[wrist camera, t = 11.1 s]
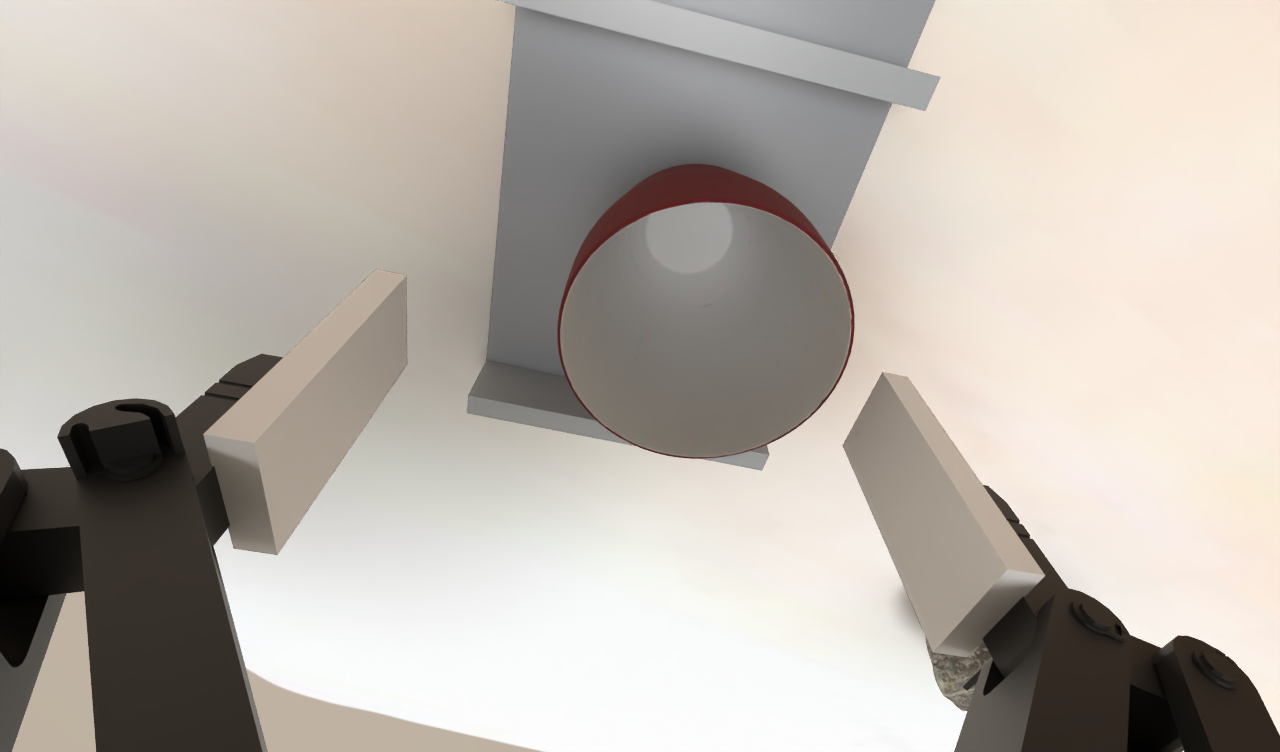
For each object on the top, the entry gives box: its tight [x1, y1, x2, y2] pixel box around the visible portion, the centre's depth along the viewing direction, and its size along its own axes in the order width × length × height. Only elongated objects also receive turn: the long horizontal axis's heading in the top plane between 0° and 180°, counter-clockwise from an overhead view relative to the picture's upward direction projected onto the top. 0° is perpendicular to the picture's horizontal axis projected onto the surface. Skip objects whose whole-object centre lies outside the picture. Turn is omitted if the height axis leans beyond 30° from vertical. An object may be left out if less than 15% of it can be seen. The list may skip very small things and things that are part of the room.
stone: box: [925, 635, 991, 711], centre depth 36 cm, size 14×7×10 cm, turn 53°
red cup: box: [557, 164, 854, 459], centre depth 20 cm, size 10×8×10 cm
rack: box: [467, 0, 940, 470], centre depth 19 cm, size 14×33×4 cm, turn 168°
